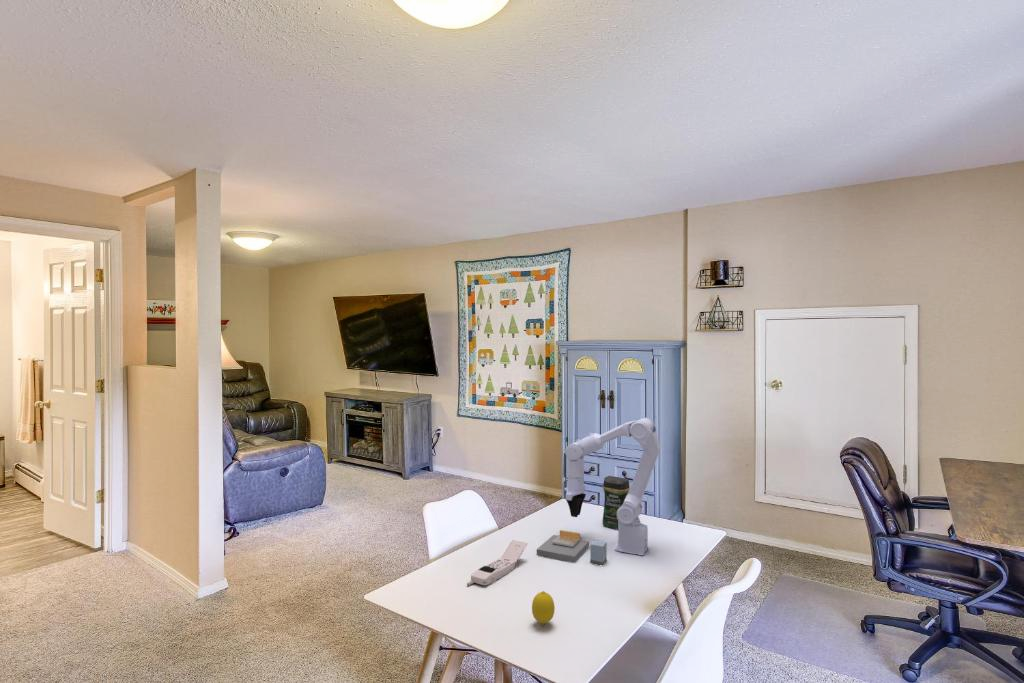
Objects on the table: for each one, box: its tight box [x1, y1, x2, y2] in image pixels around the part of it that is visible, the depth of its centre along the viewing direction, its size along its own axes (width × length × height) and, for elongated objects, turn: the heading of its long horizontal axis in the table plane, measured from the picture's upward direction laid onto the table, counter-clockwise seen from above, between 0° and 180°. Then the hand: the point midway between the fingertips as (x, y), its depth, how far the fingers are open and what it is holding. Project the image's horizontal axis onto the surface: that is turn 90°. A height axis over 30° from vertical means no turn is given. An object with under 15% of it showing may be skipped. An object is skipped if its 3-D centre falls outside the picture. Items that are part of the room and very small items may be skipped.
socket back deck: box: [536, 541, 583, 564], centre depth 172 cm, size 13×7×2 cm, turn 64°
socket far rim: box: [545, 535, 556, 543], centre depth 180 cm, size 4×6×2 cm, turn 154°
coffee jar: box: [602, 475, 631, 530], centre depth 200 cm, size 10×8×19 cm
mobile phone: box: [466, 539, 528, 587], centre depth 159 cm, size 6×6×25 cm
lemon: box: [531, 590, 555, 626], centre depth 130 cm, size 6×6×8 cm
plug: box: [589, 539, 608, 567], centre depth 167 cm, size 4×4×6 cm
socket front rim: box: [552, 534, 590, 548], centre depth 182 cm, size 13×2×2 cm, turn 64°
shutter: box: [552, 529, 582, 547], centre depth 178 cm, size 8×8×2 cm
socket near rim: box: [574, 541, 589, 555], centre depth 176 cm, size 4×6×2 cm, turn 154°
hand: (575, 515), depth 186 cm, fingers closed
